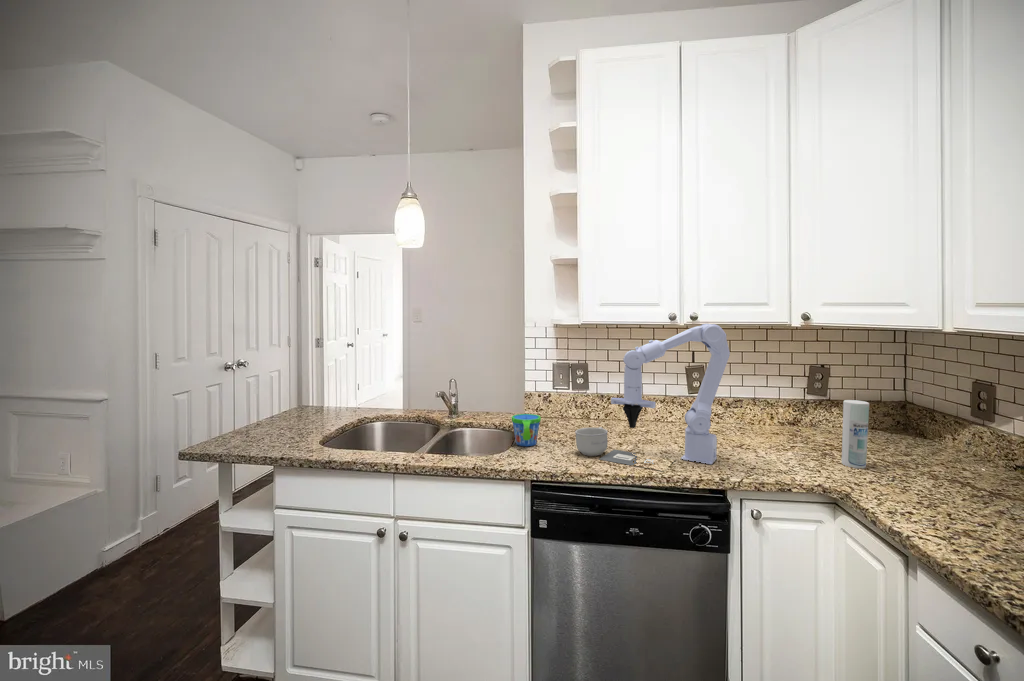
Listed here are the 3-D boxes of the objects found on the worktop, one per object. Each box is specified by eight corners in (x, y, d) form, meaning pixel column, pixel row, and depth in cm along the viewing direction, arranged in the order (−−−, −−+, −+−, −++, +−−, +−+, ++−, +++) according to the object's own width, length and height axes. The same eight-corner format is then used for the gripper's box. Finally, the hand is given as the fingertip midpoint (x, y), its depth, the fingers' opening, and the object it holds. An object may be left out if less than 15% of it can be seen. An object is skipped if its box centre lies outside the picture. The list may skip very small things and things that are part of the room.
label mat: (676, 460, 152) (676, 459, 152) (663, 471, 141) (663, 470, 141) (614, 449, 164) (614, 449, 164) (598, 459, 153) (598, 458, 153)
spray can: (856, 462, 150) (859, 399, 149) (871, 468, 144) (874, 403, 143) (836, 462, 150) (838, 399, 149) (850, 468, 144) (853, 403, 143)
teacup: (594, 460, 152) (594, 436, 152) (568, 453, 160) (568, 429, 160) (619, 451, 162) (619, 428, 161) (593, 445, 170) (593, 423, 169)
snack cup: (514, 438, 179) (514, 411, 179) (541, 439, 178) (541, 412, 177) (509, 450, 164) (509, 421, 163) (539, 451, 163) (539, 421, 162)
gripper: (607, 386, 157) (607, 427, 157) (650, 390, 148) (650, 432, 149) (615, 383, 162) (615, 422, 163) (657, 387, 154) (657, 428, 155)
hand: (632, 427), depth 157 cm, fingers closed
